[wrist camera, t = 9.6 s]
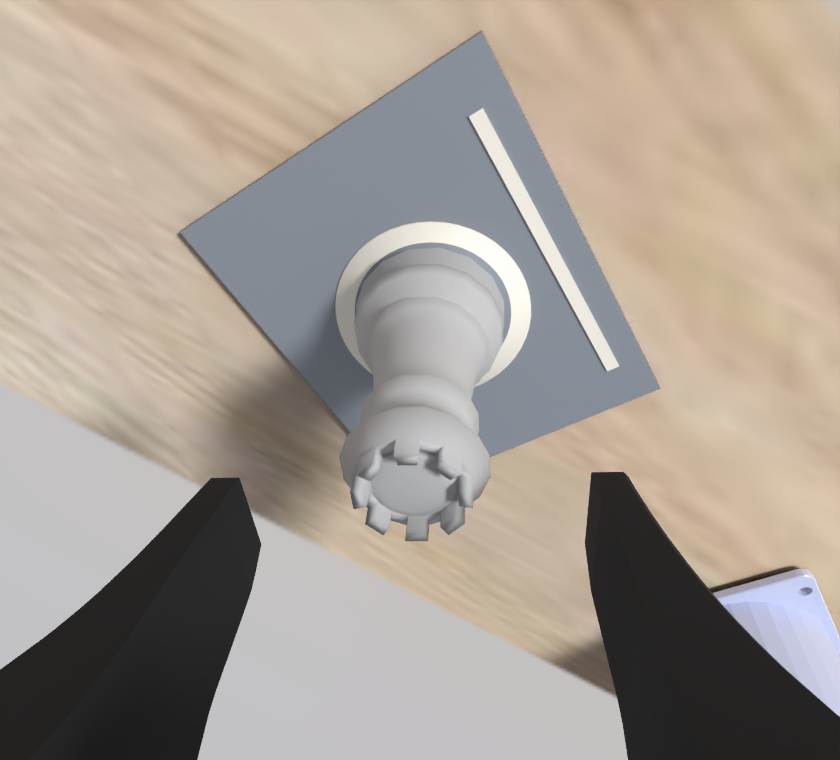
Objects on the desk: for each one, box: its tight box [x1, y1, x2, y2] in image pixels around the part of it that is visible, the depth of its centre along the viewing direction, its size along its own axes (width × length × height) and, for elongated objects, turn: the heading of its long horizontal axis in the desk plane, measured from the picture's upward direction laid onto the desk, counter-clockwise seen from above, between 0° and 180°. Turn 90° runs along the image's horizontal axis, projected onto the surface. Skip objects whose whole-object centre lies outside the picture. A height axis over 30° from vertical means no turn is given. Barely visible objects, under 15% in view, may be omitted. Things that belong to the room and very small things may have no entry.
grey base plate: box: [180, 31, 660, 457], centre depth 20 cm, size 12×10×1 cm
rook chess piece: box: [340, 248, 504, 541], centre depth 16 cm, size 4×4×8 cm
